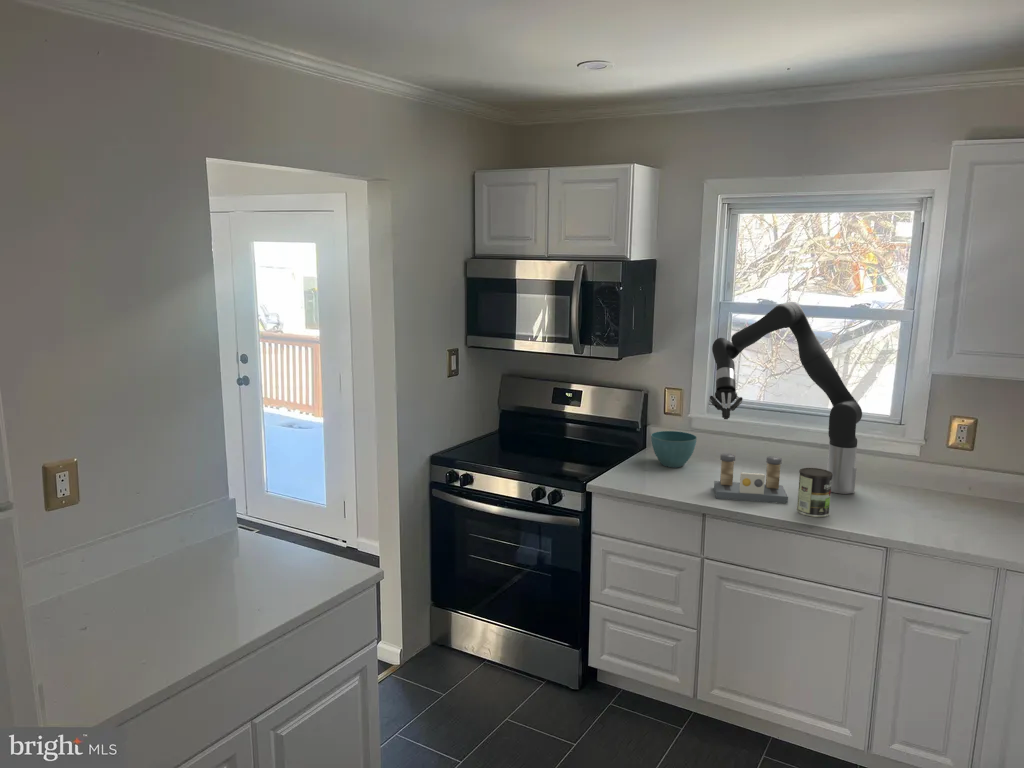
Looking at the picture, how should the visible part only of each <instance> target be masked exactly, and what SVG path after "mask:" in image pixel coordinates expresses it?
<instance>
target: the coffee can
mask: <svg viewBox="0 0 1024 768" xmlns="http://www.w3.org/2000/svg"><path fill="white" fill-rule="evenodd" d="M798 473H799V477H798V478H799V479H798V489H797V491H798V492H797V504H796V512H797V513H799V514H801V515H804V516H805V517H806V516H807V517H813V518H824V517H827V516H829V515H830V505H831V503H830V502H831V493H832V492H831V483H832V476H833V474H832V472H830V471H827V469H823V468H820V467H819V468H817V467H804V468H803V467H802V468H800V469H799V472H798Z"/></svg>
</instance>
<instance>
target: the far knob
mask: <svg viewBox="0 0 1024 768" xmlns="http://www.w3.org/2000/svg"><path fill="white" fill-rule="evenodd" d="M735 461H736V455H735V454H732V453H720V483H721V485H732V484H733V482H734V479H733V478H734V465H735Z"/></svg>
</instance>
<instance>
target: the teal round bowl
mask: <svg viewBox="0 0 1024 768" xmlns="http://www.w3.org/2000/svg"><path fill="white" fill-rule="evenodd" d="M697 438H698V437H697V435H694V434H692V433H689V432H684V431H676V430H675V431H674V430H662V431H655V432H653V433H651V434H650V439H651V446H652V449H653V452H654V454H655V457H656V458H657V459H658V461H659V462H660V464H661V465H663V466H664V467H667V466H668V468H681V466H682V467H684V465H686V463H687V462H688V461H689V459H690V458H691V457H692V455H693V453H694V450H695V447H696V445H697V440H698V439H697Z"/></svg>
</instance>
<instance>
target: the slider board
mask: <svg viewBox="0 0 1024 768" xmlns="http://www.w3.org/2000/svg"><path fill="white" fill-rule="evenodd" d="M739 481H740V482H737V481H736V482H735V481H733V484H732V485H721V483H720V481H719V480H714V482H713V483H714V485H713V489H715V490H714V494H716V495H715V499H720V500H733V501H734V500H735V501H746V502H747V501H749V502H759V503H772V502H777V503H776V504H786V503H788V501H789V499H788V498H789V496H788V494H787V492H786V489H785V488H784V485H780V484H779V489H775V488H767V487H766V473H758V472H757V473H754V472H753V473H752V472H743V471H742V472H740V480H739Z"/></svg>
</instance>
